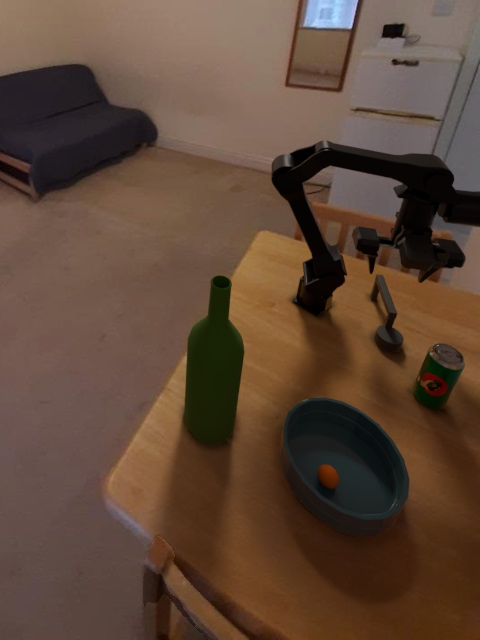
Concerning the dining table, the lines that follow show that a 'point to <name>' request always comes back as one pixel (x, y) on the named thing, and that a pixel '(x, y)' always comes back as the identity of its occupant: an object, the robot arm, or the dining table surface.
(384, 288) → the ladle
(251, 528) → the dining table surface
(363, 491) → the bowl
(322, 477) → the orange ball
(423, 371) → the soda can
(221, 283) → the wine bottle
